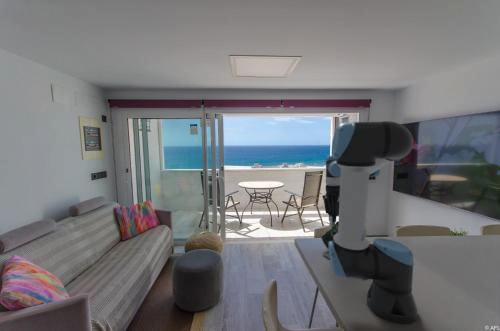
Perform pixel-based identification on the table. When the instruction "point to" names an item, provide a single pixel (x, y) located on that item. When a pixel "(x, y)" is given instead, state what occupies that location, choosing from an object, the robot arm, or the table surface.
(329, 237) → the coffee jar
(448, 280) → the table surface
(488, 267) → the table surface
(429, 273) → the table surface
